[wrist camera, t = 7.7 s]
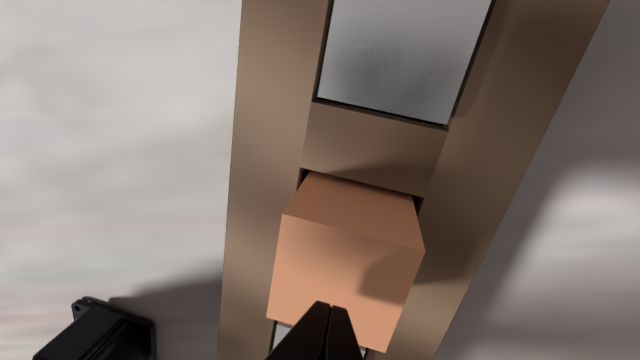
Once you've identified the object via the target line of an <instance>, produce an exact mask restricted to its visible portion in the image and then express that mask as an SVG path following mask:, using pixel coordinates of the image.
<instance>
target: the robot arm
mask: <svg viewBox="0 0 640 360" xmlns="http://www.w3.org/2000/svg"><path fill="white" fill-rule="evenodd" d="M71 307H72V312H73V317H74V322H73V323H71V324H70V325H69V326H68V327H67V328H65V329H64V330H63V331H62V332H61V333H59V334H58V335H57V336H56V337H55V338H53V339H52V340H51V341H50V342H49V343H48V344H46V345H45V346H44V347H43V348H42V349H40V350H39V351H38V352H37V353H36V354H35V355H34V356H33V359H32V360H156V351H155V330H154V325H153V324H152V323H151V322H150V321H148V320H144V319H141V318H138V317H135V316H132V315H129V314H125V313H122V312H119V311H116V310H113V309H110V308H106V307H103V306H100V305H97V304H94V303H91V302H88V301H84V300H81V299H78V300H76V301H75V302H74V303H73V304H72V305H71ZM264 360H364V359H363V356H362V353H361V350H360V347H359V344H358V341H357V338H356V335H355V332H354V329H353V326H352V323H351V320H350V317H349V314H348V311H347V309H346V308H343V307H340V306H336V305H332V306H331V305H330V304H329V303H326V302H322V301H319V300H317V301H315V302H314V303H313V304H312V306H311V307H310V308H309V309H308V310H307V311H306V312H305V314H304V315H303V316H302V317H301V318H300V319H299V320H298V322H297V323H296V324H295V325H294V326H293V327H292V328H291V330H290V331H289V332H288V333H287V334H286V335H285V336H284V338H283V339H282V340H281V341H280V342H279V343H278V344H277V345H276V347H275V348H274V349H273V350H272V351H271V352H270V353H269V355H268V356H267V357H266V358H265V359H264Z"/></svg>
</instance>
